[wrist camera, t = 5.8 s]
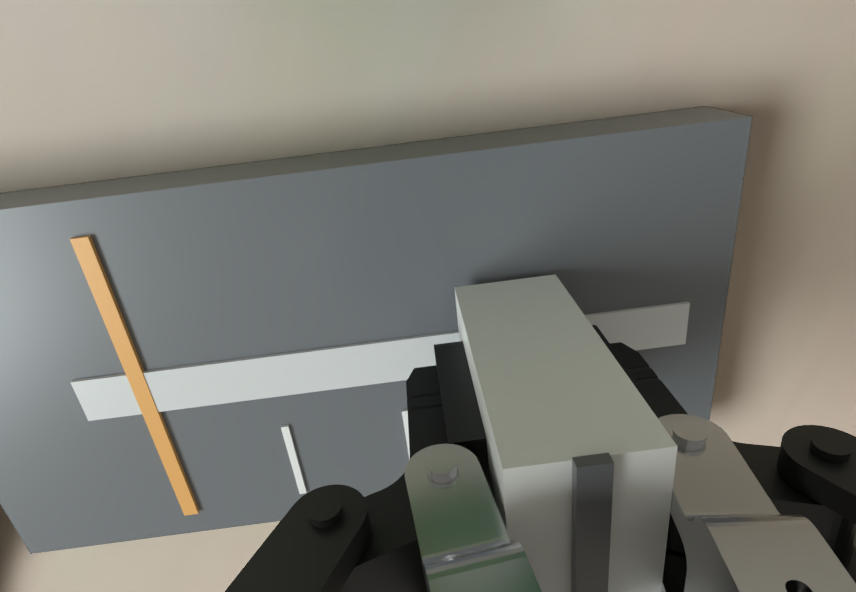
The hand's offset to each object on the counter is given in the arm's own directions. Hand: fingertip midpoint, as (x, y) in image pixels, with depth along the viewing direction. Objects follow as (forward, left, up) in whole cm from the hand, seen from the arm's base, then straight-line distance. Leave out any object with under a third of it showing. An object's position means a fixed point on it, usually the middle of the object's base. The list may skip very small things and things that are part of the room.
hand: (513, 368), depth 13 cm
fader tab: (0, 0, -1) cm, 1 cm away
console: (+4, 0, -3) cm, 5 cm away
